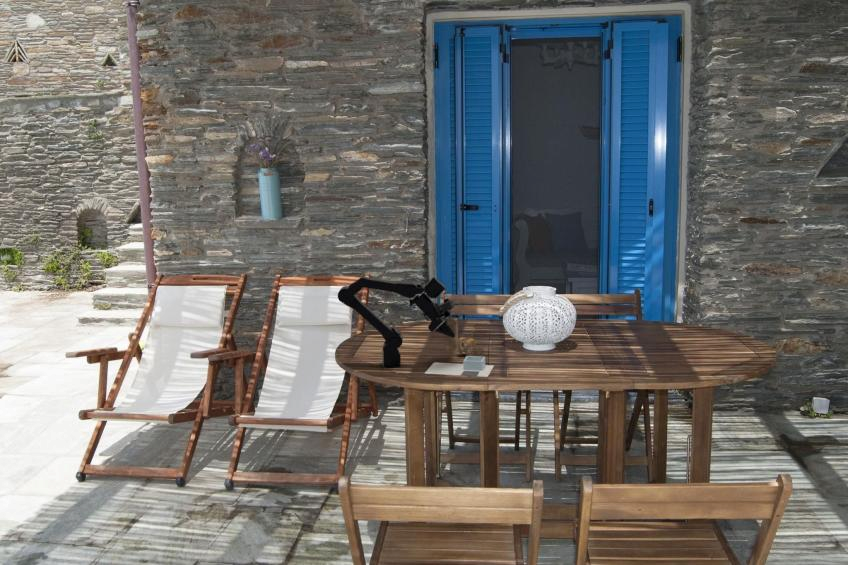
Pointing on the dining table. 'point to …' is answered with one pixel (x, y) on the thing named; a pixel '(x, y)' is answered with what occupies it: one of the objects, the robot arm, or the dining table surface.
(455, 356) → the dining table surface
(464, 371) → the board
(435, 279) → the robot arm
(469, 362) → the sleeve
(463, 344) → the lion figurine
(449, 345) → the walnut block
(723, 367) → the dining table surface
